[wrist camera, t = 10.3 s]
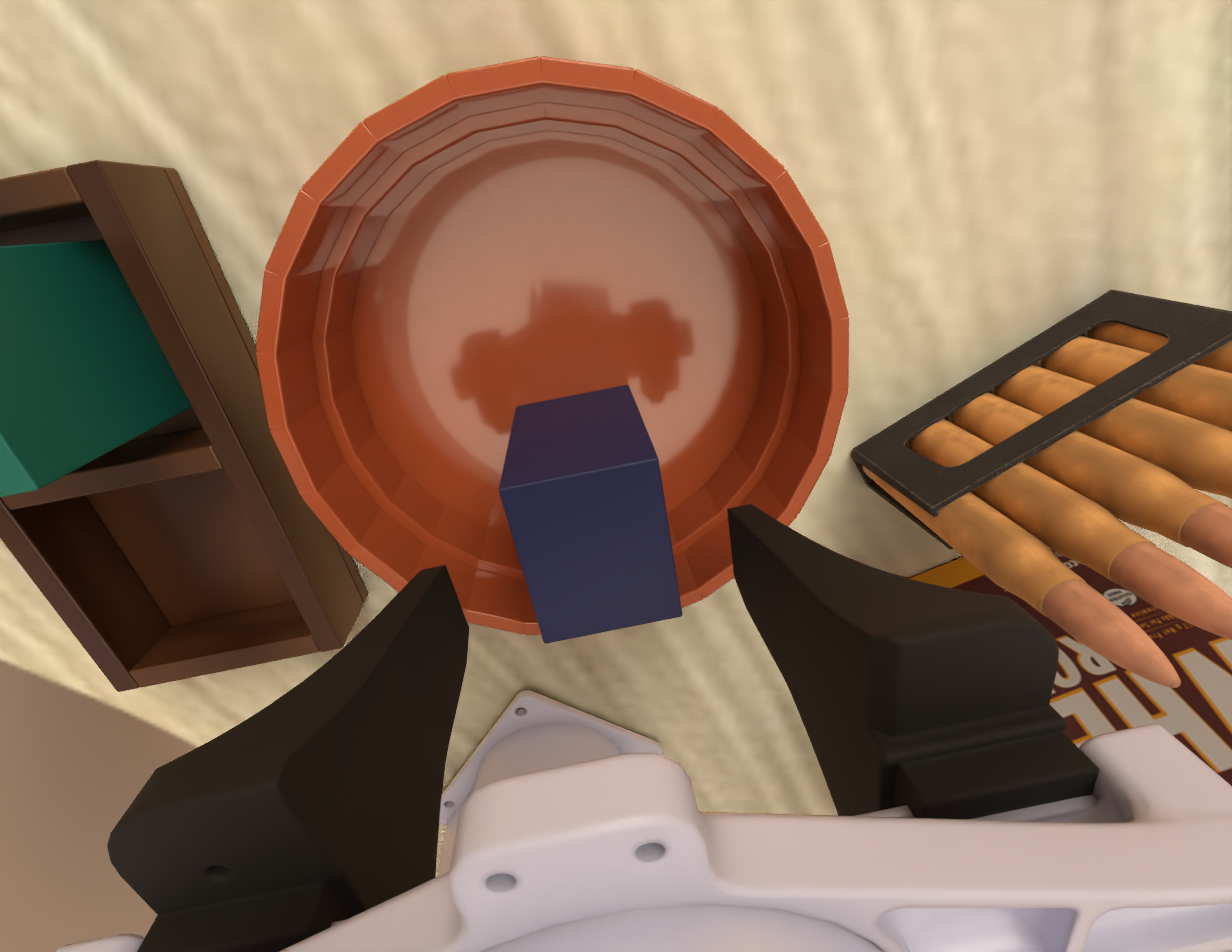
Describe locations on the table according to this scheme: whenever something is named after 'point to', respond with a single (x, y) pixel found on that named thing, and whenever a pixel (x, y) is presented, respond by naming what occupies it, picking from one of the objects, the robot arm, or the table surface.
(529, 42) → the table surface
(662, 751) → the robot arm
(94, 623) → the holder
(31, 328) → the green rectangular block
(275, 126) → the table surface
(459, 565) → the bowl
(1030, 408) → the ammunition clip
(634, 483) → the dark blue rectangular block
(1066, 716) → the supplement box
